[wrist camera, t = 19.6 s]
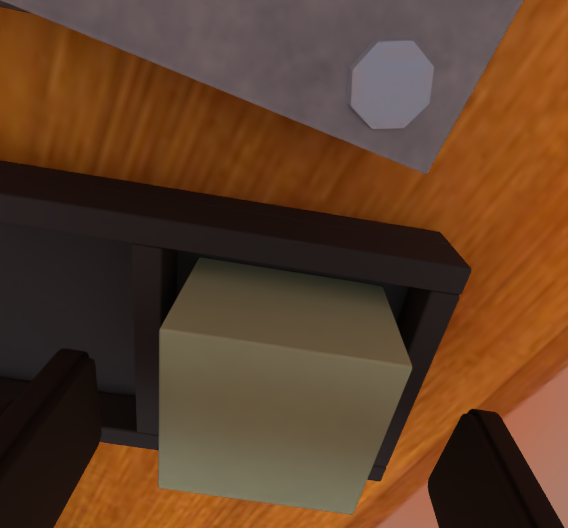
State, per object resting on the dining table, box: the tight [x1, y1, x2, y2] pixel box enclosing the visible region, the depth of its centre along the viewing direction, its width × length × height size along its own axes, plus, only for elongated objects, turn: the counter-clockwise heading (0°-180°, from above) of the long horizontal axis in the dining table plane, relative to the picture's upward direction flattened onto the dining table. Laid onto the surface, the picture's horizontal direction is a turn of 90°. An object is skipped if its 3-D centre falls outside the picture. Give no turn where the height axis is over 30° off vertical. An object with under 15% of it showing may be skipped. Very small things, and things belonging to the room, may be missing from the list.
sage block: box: [158, 257, 412, 514], centre depth 11 cm, size 6×6×4 cm
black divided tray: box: [0, 161, 471, 481], centre depth 12 cm, size 16×9×2 cm, turn 81°
